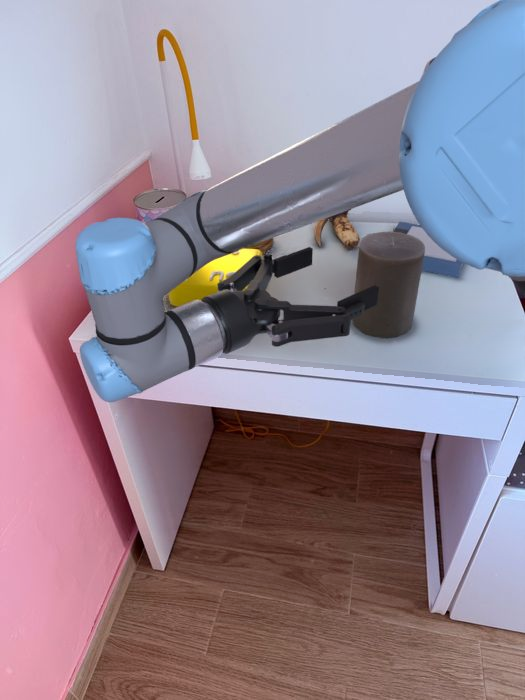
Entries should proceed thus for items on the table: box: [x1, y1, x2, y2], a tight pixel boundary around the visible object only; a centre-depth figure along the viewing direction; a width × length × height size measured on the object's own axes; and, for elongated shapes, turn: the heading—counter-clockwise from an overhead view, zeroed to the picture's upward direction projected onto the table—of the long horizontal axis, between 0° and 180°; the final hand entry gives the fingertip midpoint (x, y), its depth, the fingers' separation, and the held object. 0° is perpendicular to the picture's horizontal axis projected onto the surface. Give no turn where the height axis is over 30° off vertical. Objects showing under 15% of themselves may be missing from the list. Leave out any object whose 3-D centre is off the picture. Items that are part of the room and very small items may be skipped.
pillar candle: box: [351, 231, 425, 339], centre depth 80 cm, size 10×10×15 cm
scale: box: [392, 221, 465, 279], centre depth 102 cm, size 15×14×3 cm
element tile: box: [167, 248, 264, 308], centre depth 93 cm, size 15×15×5 cm
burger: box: [246, 238, 275, 255], centre depth 105 cm, size 10×9×5 cm
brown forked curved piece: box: [314, 209, 361, 250], centre depth 108 cm, size 9×5×18 cm
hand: (341, 274), depth 73 cm, fingers open, 13 cm apart
